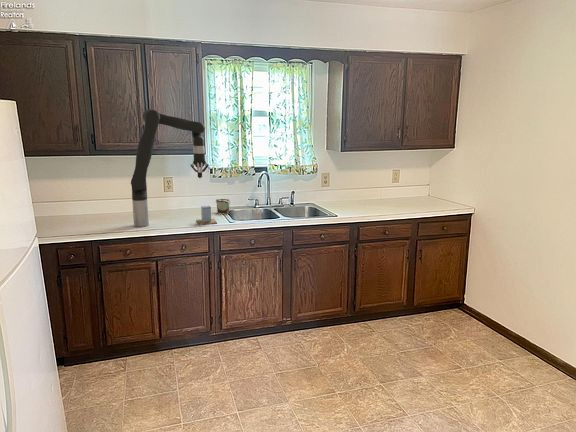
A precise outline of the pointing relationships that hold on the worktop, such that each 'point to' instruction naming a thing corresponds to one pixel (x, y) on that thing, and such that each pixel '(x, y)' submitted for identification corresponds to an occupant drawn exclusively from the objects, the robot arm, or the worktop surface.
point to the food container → (223, 205)
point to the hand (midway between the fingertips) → (199, 178)
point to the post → (206, 222)
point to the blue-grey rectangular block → (206, 213)
